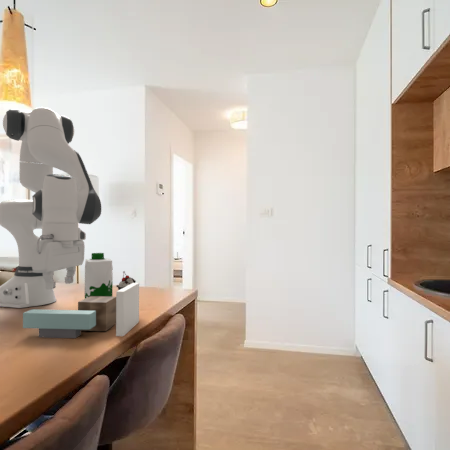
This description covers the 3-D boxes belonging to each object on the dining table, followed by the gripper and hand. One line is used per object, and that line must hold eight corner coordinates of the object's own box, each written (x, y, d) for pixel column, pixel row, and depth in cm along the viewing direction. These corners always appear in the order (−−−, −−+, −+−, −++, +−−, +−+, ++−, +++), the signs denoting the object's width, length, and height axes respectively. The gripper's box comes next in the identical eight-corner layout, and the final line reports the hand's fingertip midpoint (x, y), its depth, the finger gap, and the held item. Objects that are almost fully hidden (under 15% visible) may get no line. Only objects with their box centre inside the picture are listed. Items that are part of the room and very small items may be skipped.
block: (77, 330, 99) (78, 301, 99) (90, 322, 107) (90, 296, 106) (105, 331, 98) (106, 302, 98) (116, 323, 106) (116, 296, 106)
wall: (116, 336, 95) (116, 291, 95) (132, 321, 109) (132, 282, 109) (123, 336, 95) (123, 291, 95) (139, 321, 109) (139, 282, 109)
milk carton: (109, 308, 126) (109, 252, 126) (114, 314, 118) (114, 254, 118) (83, 311, 122) (83, 253, 122) (86, 317, 114) (86, 255, 114)
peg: (22, 328, 93) (22, 312, 93) (32, 323, 97) (32, 309, 97) (89, 329, 92) (89, 314, 92) (95, 325, 96) (95, 310, 96)
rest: (38, 337, 93) (38, 327, 93) (45, 333, 96) (45, 324, 96) (75, 338, 93) (75, 328, 93) (80, 334, 96) (80, 325, 96)
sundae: (117, 320, 111) (117, 272, 111) (114, 314, 117) (114, 269, 117) (138, 317, 113) (138, 271, 113) (134, 313, 119) (135, 268, 119)
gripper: (50, 234, 84) (50, 293, 84) (88, 233, 104) (88, 280, 104) (24, 234, 84) (24, 292, 84) (67, 233, 105) (67, 280, 105)
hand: (60, 285), depth 94 cm, fingers open, 8 cm apart
